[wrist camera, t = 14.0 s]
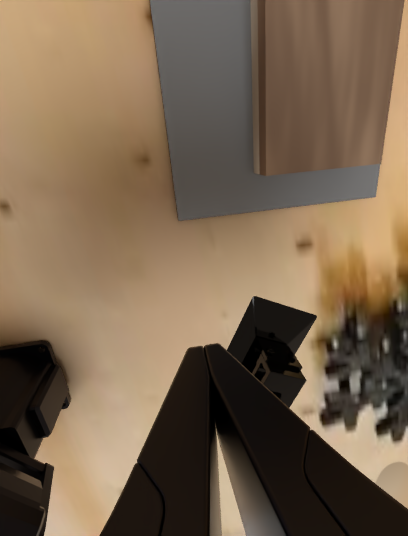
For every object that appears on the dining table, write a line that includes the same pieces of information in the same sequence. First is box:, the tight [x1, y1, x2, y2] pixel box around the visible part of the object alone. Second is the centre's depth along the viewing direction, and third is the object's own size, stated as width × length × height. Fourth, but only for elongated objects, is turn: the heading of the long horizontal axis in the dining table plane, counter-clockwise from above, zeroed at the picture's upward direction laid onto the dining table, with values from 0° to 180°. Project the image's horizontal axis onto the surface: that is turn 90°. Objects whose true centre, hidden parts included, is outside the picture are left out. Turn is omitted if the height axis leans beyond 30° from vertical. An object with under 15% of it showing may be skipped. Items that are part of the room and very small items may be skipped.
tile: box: [250, 0, 404, 176], centre depth 16 cm, size 2×9×7 cm
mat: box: [150, 0, 380, 221], centre depth 17 cm, size 14×14×1 cm
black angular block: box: [227, 296, 317, 408], centre depth 23 cm, size 13×8×5 cm, turn 158°
